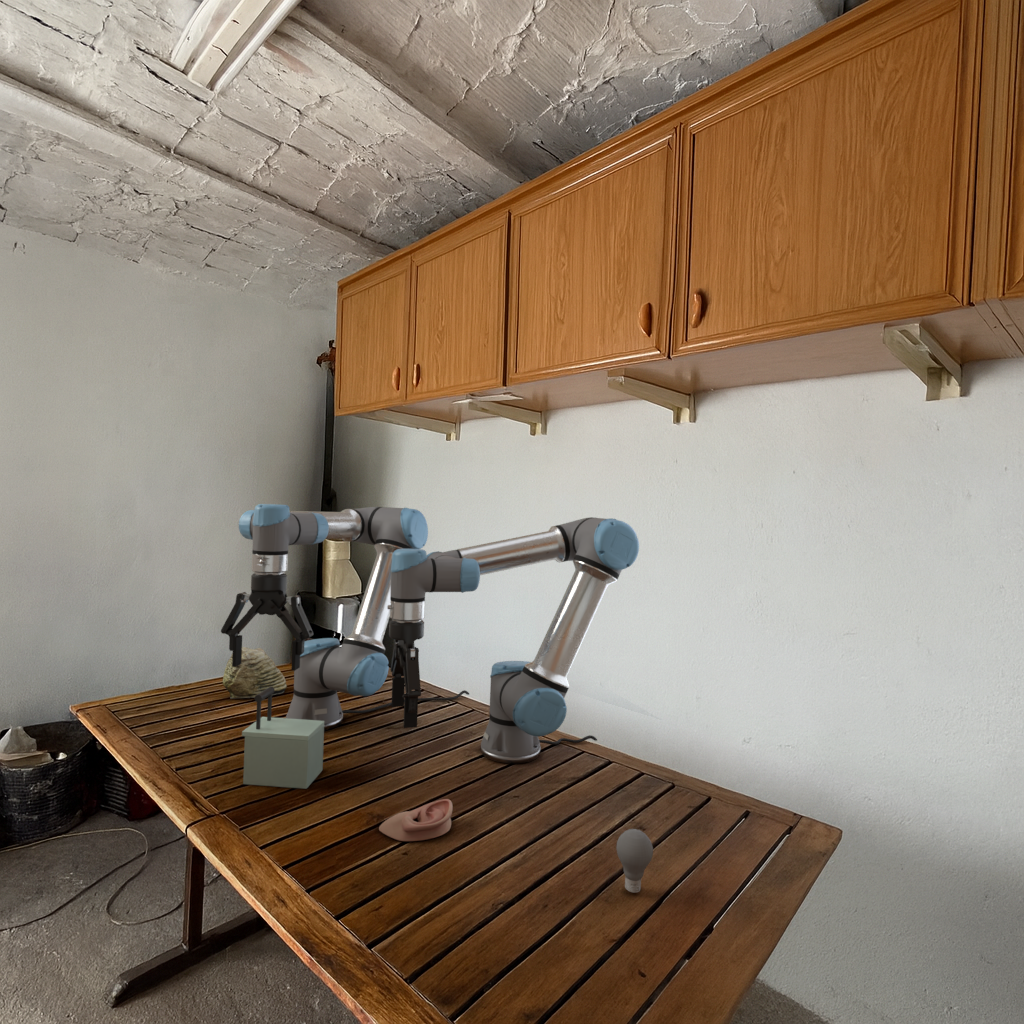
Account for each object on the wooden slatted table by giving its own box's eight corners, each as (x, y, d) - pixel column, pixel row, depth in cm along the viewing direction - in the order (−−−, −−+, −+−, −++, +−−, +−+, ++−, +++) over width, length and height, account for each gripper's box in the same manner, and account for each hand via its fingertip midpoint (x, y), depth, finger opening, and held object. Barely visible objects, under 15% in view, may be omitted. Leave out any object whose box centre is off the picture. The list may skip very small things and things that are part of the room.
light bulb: (610, 879, 108) (613, 822, 108) (644, 879, 109) (647, 822, 109) (619, 902, 102) (622, 840, 102) (655, 901, 103) (658, 840, 103)
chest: (243, 784, 138) (244, 736, 138) (263, 765, 148) (264, 721, 147) (306, 788, 137) (308, 741, 137) (322, 770, 147) (324, 725, 146)
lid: (241, 736, 138) (243, 696, 138) (262, 721, 147) (263, 683, 147) (308, 740, 137) (309, 700, 137) (324, 725, 146) (325, 687, 146)
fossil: (218, 695, 195) (220, 647, 195) (278, 685, 208) (279, 640, 207) (228, 703, 189) (230, 653, 188) (289, 692, 201) (290, 645, 201)
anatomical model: (372, 815, 119) (396, 788, 130) (371, 836, 119) (395, 808, 130) (440, 826, 116) (458, 797, 127) (439, 847, 116) (457, 817, 127)
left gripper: (206, 571, 139) (203, 668, 139) (317, 577, 137) (313, 675, 138) (224, 568, 146) (221, 659, 147) (329, 573, 145) (326, 666, 145)
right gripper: (380, 610, 149) (377, 699, 149) (401, 632, 125) (397, 738, 126) (411, 609, 151) (408, 697, 152) (438, 630, 128) (434, 734, 128)
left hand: (266, 667), depth 142 cm, fingers open, 13 cm apart
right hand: (403, 716), depth 139 cm, fingers open, 13 cm apart
